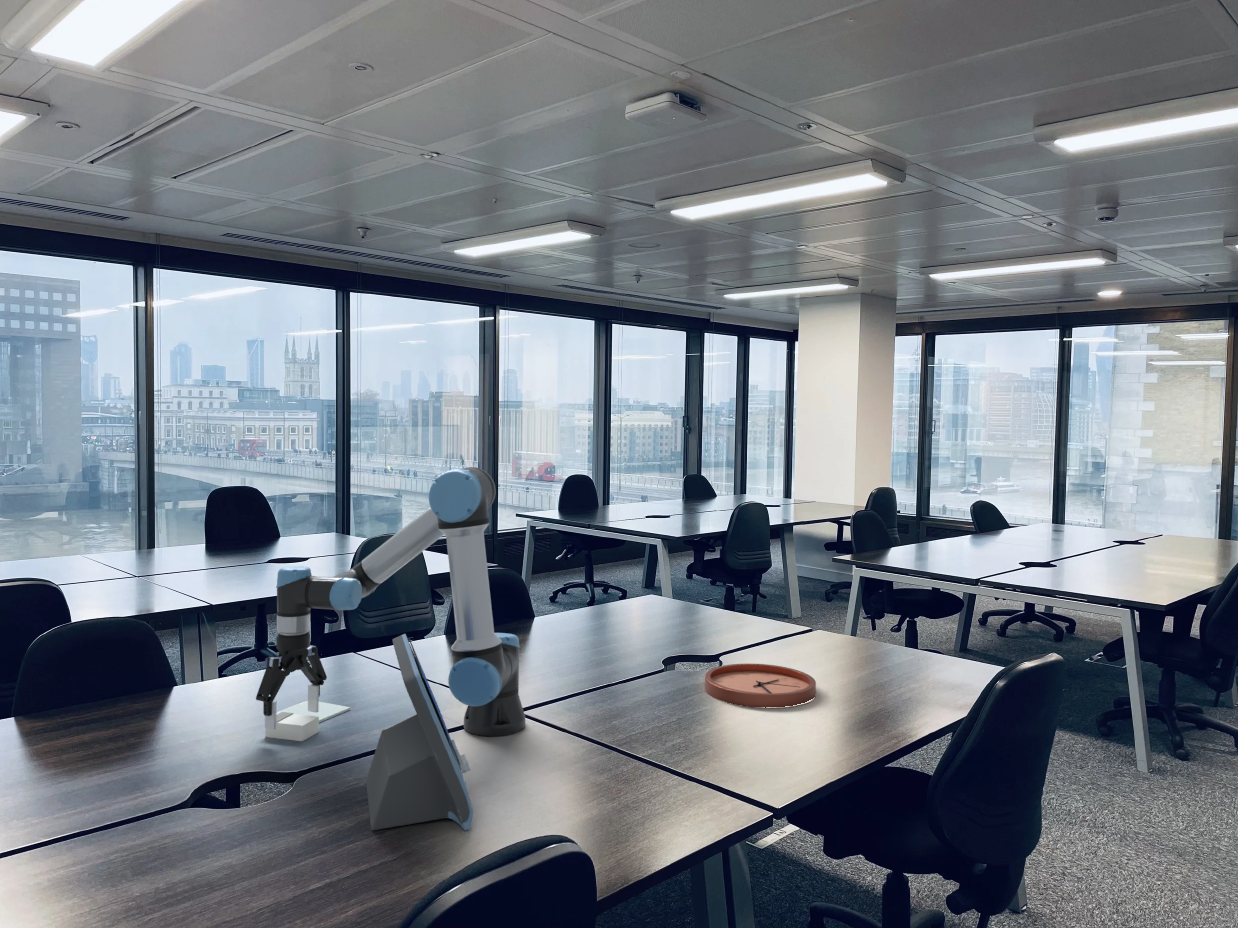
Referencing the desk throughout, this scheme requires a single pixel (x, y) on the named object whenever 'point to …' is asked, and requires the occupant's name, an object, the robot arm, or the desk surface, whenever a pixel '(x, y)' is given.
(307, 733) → the card deck box
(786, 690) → the clock
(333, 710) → the mat
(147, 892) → the desk surface
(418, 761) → the touchscreen device
